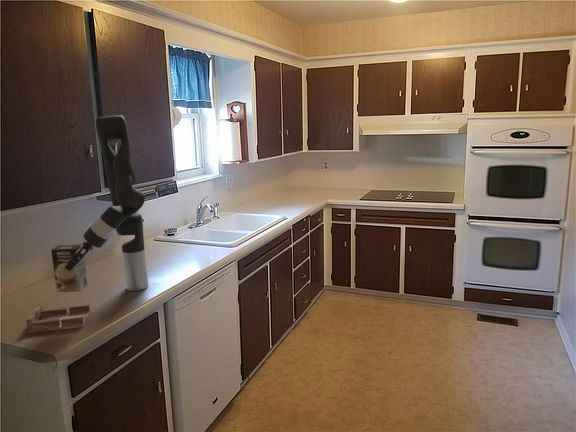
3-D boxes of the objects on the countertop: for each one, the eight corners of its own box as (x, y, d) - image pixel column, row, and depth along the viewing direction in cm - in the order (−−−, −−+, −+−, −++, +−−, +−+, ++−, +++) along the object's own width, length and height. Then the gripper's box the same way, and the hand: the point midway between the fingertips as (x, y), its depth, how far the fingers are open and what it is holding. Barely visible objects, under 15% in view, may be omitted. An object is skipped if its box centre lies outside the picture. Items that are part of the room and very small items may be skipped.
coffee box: (55, 292, 158) (49, 249, 155) (64, 286, 164) (58, 244, 161) (81, 291, 158) (75, 248, 155) (89, 285, 164) (83, 243, 161)
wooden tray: (39, 318, 166) (37, 306, 165) (90, 313, 170) (88, 300, 169) (28, 333, 155) (26, 320, 154) (83, 326, 159) (81, 314, 158)
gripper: (95, 220, 165) (66, 253, 165) (87, 229, 151) (55, 265, 151) (112, 233, 167) (83, 265, 167) (105, 243, 153) (74, 278, 153)
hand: (70, 265), depth 159 cm, fingers closed on coffee box, 7 cm apart
